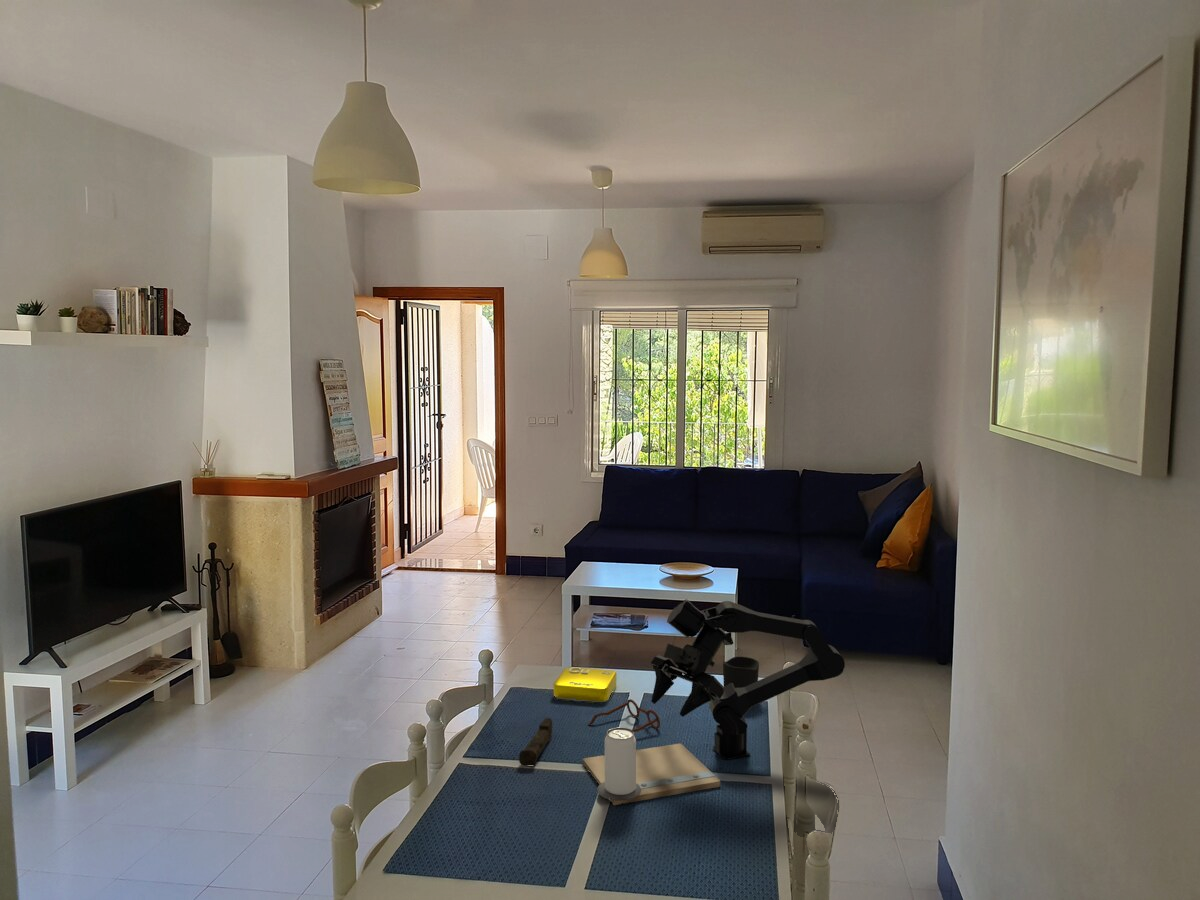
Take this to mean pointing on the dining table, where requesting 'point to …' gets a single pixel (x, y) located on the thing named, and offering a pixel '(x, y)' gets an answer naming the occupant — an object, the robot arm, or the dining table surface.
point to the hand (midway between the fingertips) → (666, 709)
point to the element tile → (585, 684)
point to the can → (620, 761)
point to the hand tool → (536, 743)
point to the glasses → (633, 715)
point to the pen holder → (740, 671)
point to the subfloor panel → (658, 774)
